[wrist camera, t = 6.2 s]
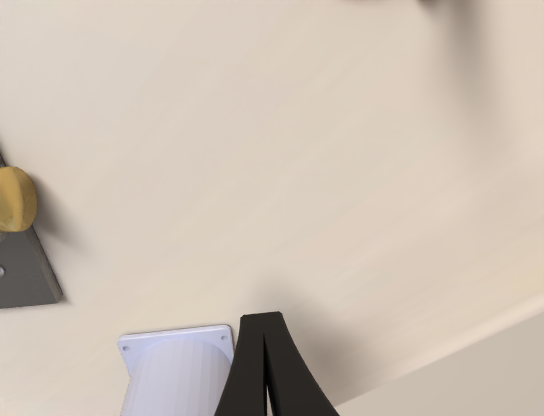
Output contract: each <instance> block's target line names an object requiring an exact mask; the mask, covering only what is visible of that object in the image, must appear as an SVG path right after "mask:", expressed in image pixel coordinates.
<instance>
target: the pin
mask: <svg viewBox="0 0 544 416" xmlns="http://www.w3.org/2000/svg"><path fill="white" fill-rule="evenodd" d="M36 212H37V196H36V191H35V188H34V185H33V183H32V181H31V179H30V178H29V176H28V175H27V174H26V173H25V172H24V171H23V170H21V169H20V168H17V167H0V233H6V232H18V231H24V230H26V229H27V228H29V227H30V226H31V224H32V223H33V221H34V219H35V216H36Z"/></svg>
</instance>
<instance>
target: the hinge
mask: <svg viewBox="0 0 544 416" xmlns="http://www.w3.org/2000/svg"><path fill="white" fill-rule="evenodd" d="M0 167H6V166H5V164H4V161H3V159H2V157H1V155H0ZM61 296H62V292H61V289H60V287H59V285H58V283H57V280H56V278H55V276H54V274H53V272H52V269H51V267H50V265H49V263H48V260H47V258H46V256H45V254H44V251H43V249H42V247H41V245H40V242H39V240H38V238H37V236H36V233H35V231H34V229H33V227H32V224H31V226H30V227H29V228H27V229H26V230H24V231H18V232H6V233H0V309H2V308H13V307H23V306H33V305H43V304H54V303H58V301H59V299H60V298H61Z"/></svg>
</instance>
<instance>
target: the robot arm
mask: <svg viewBox="0 0 544 416" xmlns="http://www.w3.org/2000/svg"><path fill="white" fill-rule="evenodd" d="M117 343H118V347H119V350H120V352H121V355H122V357H123V360H124V363H125V365H126V368H127V371H128V373H129V376H130V380H129V384H128V388H127V391H126V395H125V399H124V402H123V406H122V410H121V414H120V416H267V387H268V393H269V398H270V404H271V409H272V414H273V416H339V414H338V413H337V412H336V410H335V409H334V407H333V406H332V405H331V403H330V402H329V400H328V399H327V397H326V396H325V394H324V393H323V392H322V390H321V388H320V387H319V385H318V384H317V382H316V381H315V379H314V378H313V376H312V374H311V373H310V371H309V369H308V368H307V366H306V364H305V362H304V360H303V359H302V357H301V355H300V353H299V351H298V350H297V348H296V346H295V344H294V342H293V340H292V337H291V335H290V333H289V331H288V329H287V326H286V324H285V321H284V318H283V315H282V313H281V312H279V311H278V312H268V313H259V314H249V315H243V316H242V317H241V318H240V330H239V336H238V341H237V345H236V350H235V354H234V350H233V342H232V334H231V328H230V327H229V326H228V325H217V326H208V327H198V328H189V329H179V330H170V331H160V332H151V333H142V334H132V335H124V336H121V337H120V338H119V339H118V342H117ZM126 346H127V347H126Z"/></svg>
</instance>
